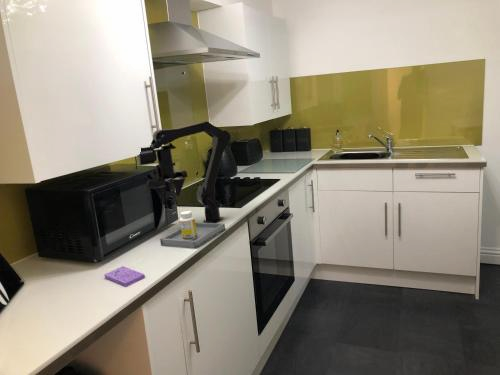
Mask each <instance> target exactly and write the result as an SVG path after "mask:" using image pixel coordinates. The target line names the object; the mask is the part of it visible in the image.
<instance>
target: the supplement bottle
mask: <svg viewBox="0 0 500 375" xmlns="http://www.w3.org/2000/svg"><path fill="white" fill-rule="evenodd" d="M195 222H196V219H195V216H194V215H193V214H192V211H191V210H185V211H182V212H180V218H179V225H180V228H181V231H182V237H183V240H194V239H196V238H197V230H196V224H195Z"/></svg>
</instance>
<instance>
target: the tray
mask: <svg viewBox="0 0 500 375" xmlns="http://www.w3.org/2000/svg"><path fill="white" fill-rule="evenodd" d="M195 224H196V230H197V238H196V239H194V240H183V237H182V231H181V227H180V228H178V229H176V230H175V231H173V232H171V233H169V234H167V235H165V236H163V237H162V238H160V239H159V240H160V246H162V247H163V246H164V247H174V248H185V249H186V248H187V249H199V247H201V246H203V245H204V244H206V243H207V242H209V241H210V240H212V239H213V238H215V237H216V236H218V235H219V234H221V233H223V232H224V231H226V225H225V223H218V222H216V223H207V222H200V221H199V222H197V221H195Z"/></svg>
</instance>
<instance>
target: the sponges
mask: <svg viewBox="0 0 500 375" xmlns="http://www.w3.org/2000/svg"><path fill="white" fill-rule="evenodd" d="M103 276H104V279H106V280H108V281H111V282H113V283H116V284H118V285H121V286H123V287H128V286H130V285H133V284H135V283H136V282H138V281H141V280H143V279H145V278H146V275H145V273H142V272H139V271H136V270H134V269H131V268H130V267H127V266H124V265H121V266H120V267H118V268H116V269H114V270H112V271H109V272H106V273H104V275H103Z"/></svg>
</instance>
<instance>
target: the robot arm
mask: <svg viewBox="0 0 500 375" xmlns="http://www.w3.org/2000/svg"><path fill="white" fill-rule="evenodd" d="M199 133H205V134H206V135H207V136H209V137H211V138H212V139H211V146H212V147H211V148H212V151H211V155H210V159H209V163H208V167H207V170H206V175H205V176H204V177H205V178H204V181H203V183H202V185H199V184H198V186H197V192H196V193H195V195H196V199H197V202H199V203H200V204H202V206H203V207H204V216H205V217H204V218H205V220H203V221H202V223H218V222H220V221H222V220H223V219H224V217H223V216H221V212H220V207H221V204H222V203H221V201H219V200H218V199H216V187H215V186H216V185H215V184H216V182H217V177H218V174H219V170H220V166H221V163H222V158H223V154H224V152H225V151H226V149H227V148H228V146H229V144H230V142H231V139H232V136H231V134H230V132H229V131H228V130H223V129H221V128H219V127H217V125H216V126H215V125H214V124H212V123H210V122H209V121H207V120H206V121H200V122H198V123H194V124H193V123H192V124H190V125H189V124H188V125H185V126H182V127H177V128H169V129H168V128H167V129H157V130H155V131H154V132H153V134H152V141H151V143H150V144H151V145H150V144H149V146H150V147H149V146H146V147H140V148H141V152H140V154H139V155H137V154H136V155H137V156H136V158H137V163H138V166H145V165H151V164H155V163H156V161H157V163H158V164H156V166H155V169H154V170H155V171H154V172H153V173H154V174H155V175H156V177H157V178H153V179H150V178H149V179H148V180H147V186H148V188H150V189H153V190H155V191H156V192H157V195H158V196H159V198H160V200H161V202H162V203H166V201H167V185H166V183H167V182H169V181H171V182H172V183H173V185H174V189H175V191H174V192H175V194H176V197H181V196H180V195H181V192H182V190H183V189H182V188H183V186H184V183H185V181H186V179H187V178H188V172H187V171H186V170H184V169H183V170H181V169H179V170H175V167H174V166H176V162H173V155H172V150H175V149H176V148H177V147H176V146H175V145H174V144H172V142H174V141H176V140H177V139H180V138H183V137H188V136H192V135H195V134H199ZM154 174H153V175H154Z"/></svg>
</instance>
